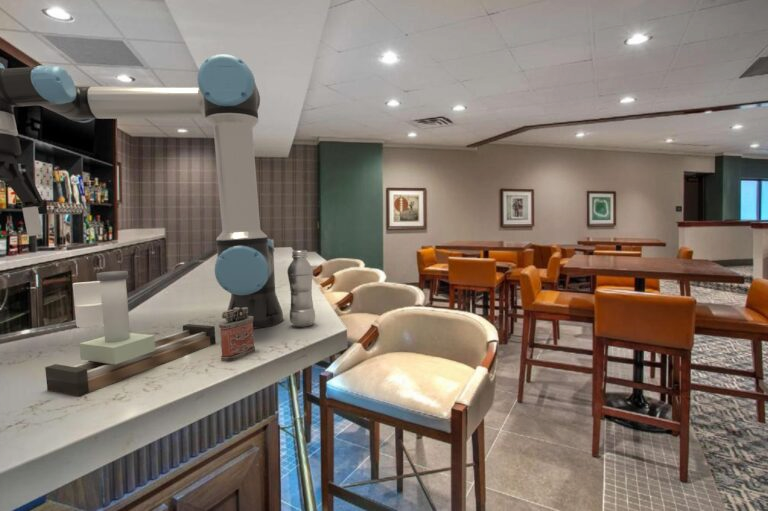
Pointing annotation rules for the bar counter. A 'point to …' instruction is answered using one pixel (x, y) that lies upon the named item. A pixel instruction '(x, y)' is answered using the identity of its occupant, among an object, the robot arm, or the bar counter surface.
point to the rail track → (127, 362)
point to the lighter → (236, 334)
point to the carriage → (115, 325)
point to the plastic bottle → (301, 290)
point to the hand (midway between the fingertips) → (14, 235)
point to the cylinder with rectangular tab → (88, 304)
